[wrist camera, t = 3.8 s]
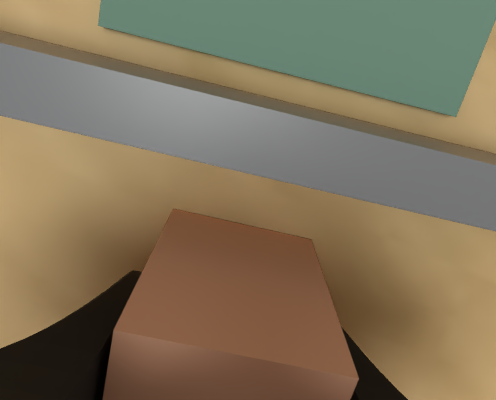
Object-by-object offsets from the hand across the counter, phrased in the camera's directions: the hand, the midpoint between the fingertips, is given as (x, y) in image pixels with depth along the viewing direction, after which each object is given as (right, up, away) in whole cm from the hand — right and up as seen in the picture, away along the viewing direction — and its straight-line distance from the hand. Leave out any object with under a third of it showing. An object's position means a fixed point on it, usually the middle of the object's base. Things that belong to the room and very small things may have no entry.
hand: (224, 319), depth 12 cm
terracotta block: (0, +1, +2) cm, 2 cm away
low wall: (+1, +6, 0) cm, 6 cm away
